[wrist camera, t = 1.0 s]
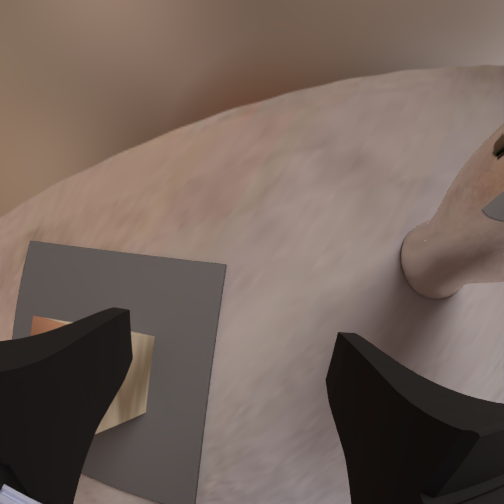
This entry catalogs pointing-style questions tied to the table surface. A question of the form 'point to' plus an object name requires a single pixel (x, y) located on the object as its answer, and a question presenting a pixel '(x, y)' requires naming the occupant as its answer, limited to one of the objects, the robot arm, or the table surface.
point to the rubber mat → (163, 357)
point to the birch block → (135, 384)
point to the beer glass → (462, 229)
